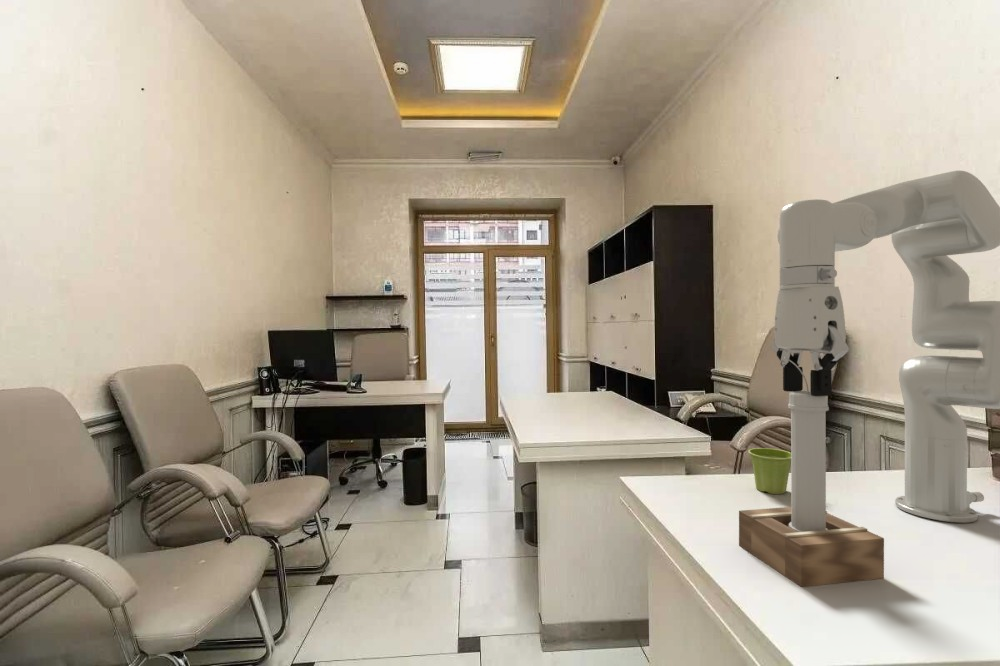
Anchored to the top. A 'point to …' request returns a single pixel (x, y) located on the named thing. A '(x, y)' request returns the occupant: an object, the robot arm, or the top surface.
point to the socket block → (812, 548)
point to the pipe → (808, 460)
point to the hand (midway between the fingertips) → (806, 392)
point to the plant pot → (771, 469)
